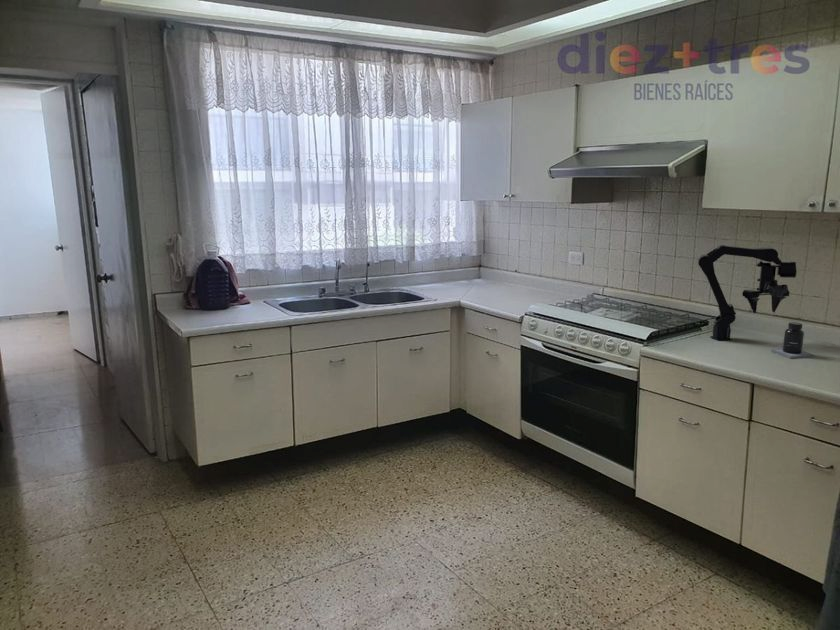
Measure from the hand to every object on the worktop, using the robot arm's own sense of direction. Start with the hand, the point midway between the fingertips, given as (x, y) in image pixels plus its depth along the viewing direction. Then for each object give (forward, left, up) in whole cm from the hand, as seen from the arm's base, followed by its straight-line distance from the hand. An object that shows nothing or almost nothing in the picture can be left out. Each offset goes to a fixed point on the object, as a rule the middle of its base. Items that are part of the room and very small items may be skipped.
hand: (764, 312), depth 271 cm
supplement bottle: (-2, -21, -12) cm, 24 cm away
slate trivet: (-2, -21, -13) cm, 25 cm away
